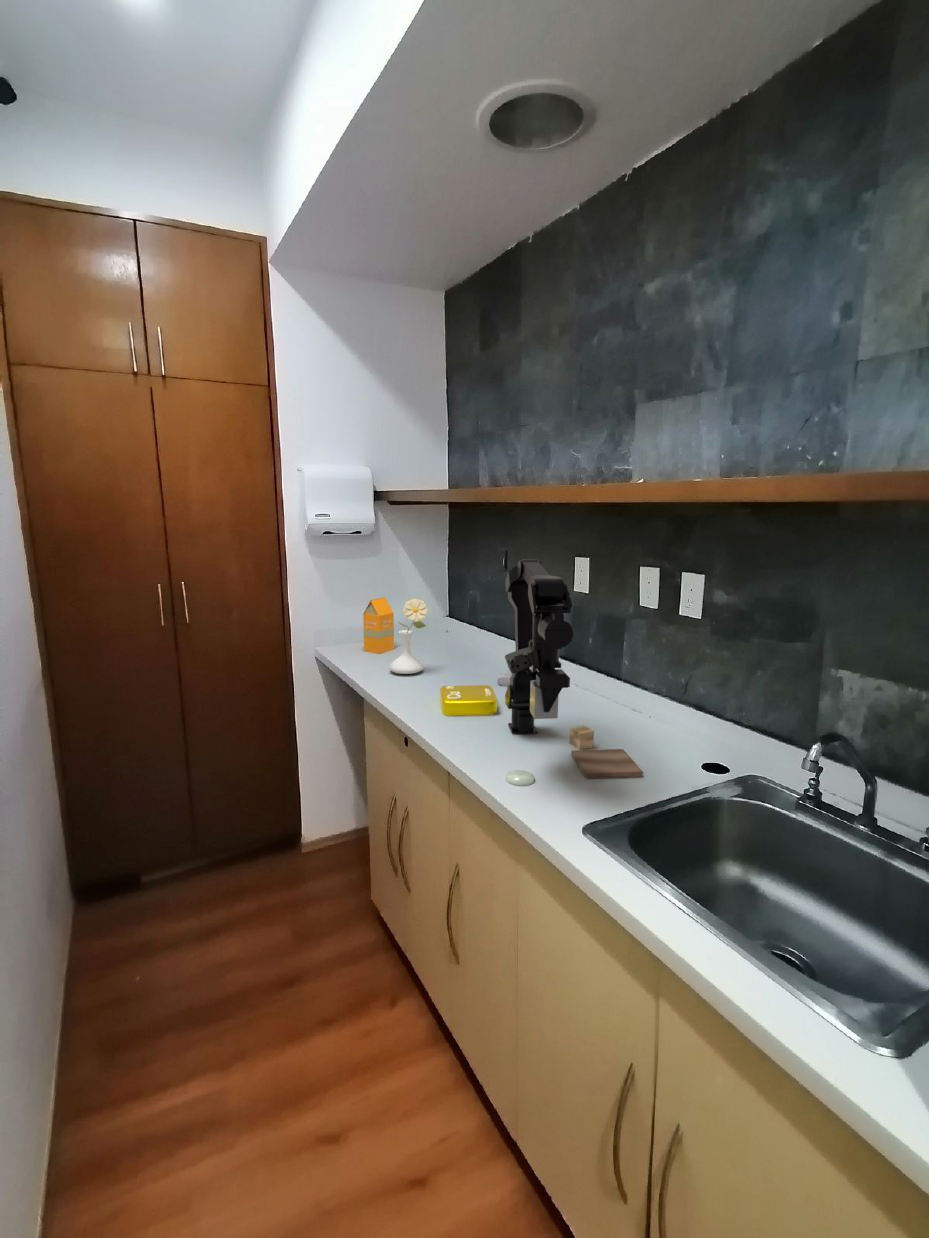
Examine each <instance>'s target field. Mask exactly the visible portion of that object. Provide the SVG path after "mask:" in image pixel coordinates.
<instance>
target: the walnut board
mask: <svg viewBox="0 0 929 1238" xmlns="http://www.w3.org/2000/svg"><path fill="white" fill-rule="evenodd" d="M571 757H572V758H573V760H574V762H575V763H576V765H577V766H578V768H579V769H580V771H581V772H582V774H583V775H584V777H585V778H586V779H587V780H589V779H590V780H593V779H617V778H619V779H621V778H624V779H625V778H642V777H643V774H644V771H643V770H642V769H641V767H640V766H639V765H638V764H637V763H636V762H635V761H634V760H633V759H632V757H631V756H630V755H629V754H628V753H627V752H626V751H625V749H624V748H620V749H619V748H613V749H611V748H609V749H608V748H607V749H576V750H571Z"/></svg>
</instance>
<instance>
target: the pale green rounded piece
mask: <svg viewBox="0 0 929 1238" xmlns="http://www.w3.org/2000/svg"><path fill="white" fill-rule="evenodd" d="M504 776H505V777H504V780H505V782H506V783H508V784H510V785H512V786H518V787H519V786H520V787H525V786H526V787H527V786H529V785H532V784H533V783H534V782H535V775H534V774H533V773H532V772H530V771H527V770H521V769H520V770H519V769H518V770H517V769H516V770H514V769H513V770H511V771H508V772H506V773H505V775H504Z"/></svg>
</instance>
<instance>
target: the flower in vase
mask: <svg viewBox="0 0 929 1238" xmlns="http://www.w3.org/2000/svg"><path fill="white" fill-rule="evenodd" d="M428 609H429V608H428V607H427V604H425V601H423V600H421V599H419V598H415V597H414V598H413V599H409V600H408V601H405V604H404V607H403V611H402V613H403V614H404V616H405V618H406V619H407V620H409V621H411V622H412V623H411V625H410V626H408V625H406V624H405V623H401V621H398V624H399V625H400V626H402V627H406V628H408V629H405V630H403V629H402V630H399V631H398V633H399V635H400V638H401V641H402V642H401V643H402V653H401V654H400V655H399V656H398V657H396V659H394V660H393V661H392V662H391V663H390V665H389V667H388V668H389V670H390V671H391V672H393V673H395V674H399V675H400V674H401V675H408V674H409V675H411V674H416V673H419V672H422V670H423V669H424V664H423V663H422V662H421V661H420V660H419V659H417V657H415V656H414V655H412V653H411V648H410V646H411V645H410V644H411V638H412V636H413V634H414V630H410V629H411V628H412V626H414V627H415V628H416V629H422V628H425V627H426V624H425V623H423V621H422V620H424V619H426V617H427V615H428V611H429V610H428Z"/></svg>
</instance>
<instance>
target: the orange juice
mask: <svg viewBox="0 0 929 1238" xmlns="http://www.w3.org/2000/svg"><path fill="white" fill-rule="evenodd" d="M362 617H363V618H362V621H363V625H362V626H363V630H362V631H363V652H365V653H371V654H375V655H381V654H384V653H388V652H390V651H394V650H395V638H394V637H395V627H394V624H395V623H394V621H395V619H394V611H393V609H392V608H391V606H390V604H389V603H388V600H387V598H386V597H384V596H383V597H381V598H380V597H379V598H375V599H371V600H370V601H369V603H368V605H367V606H366V608H365V610H364V612H363V615H362Z"/></svg>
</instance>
